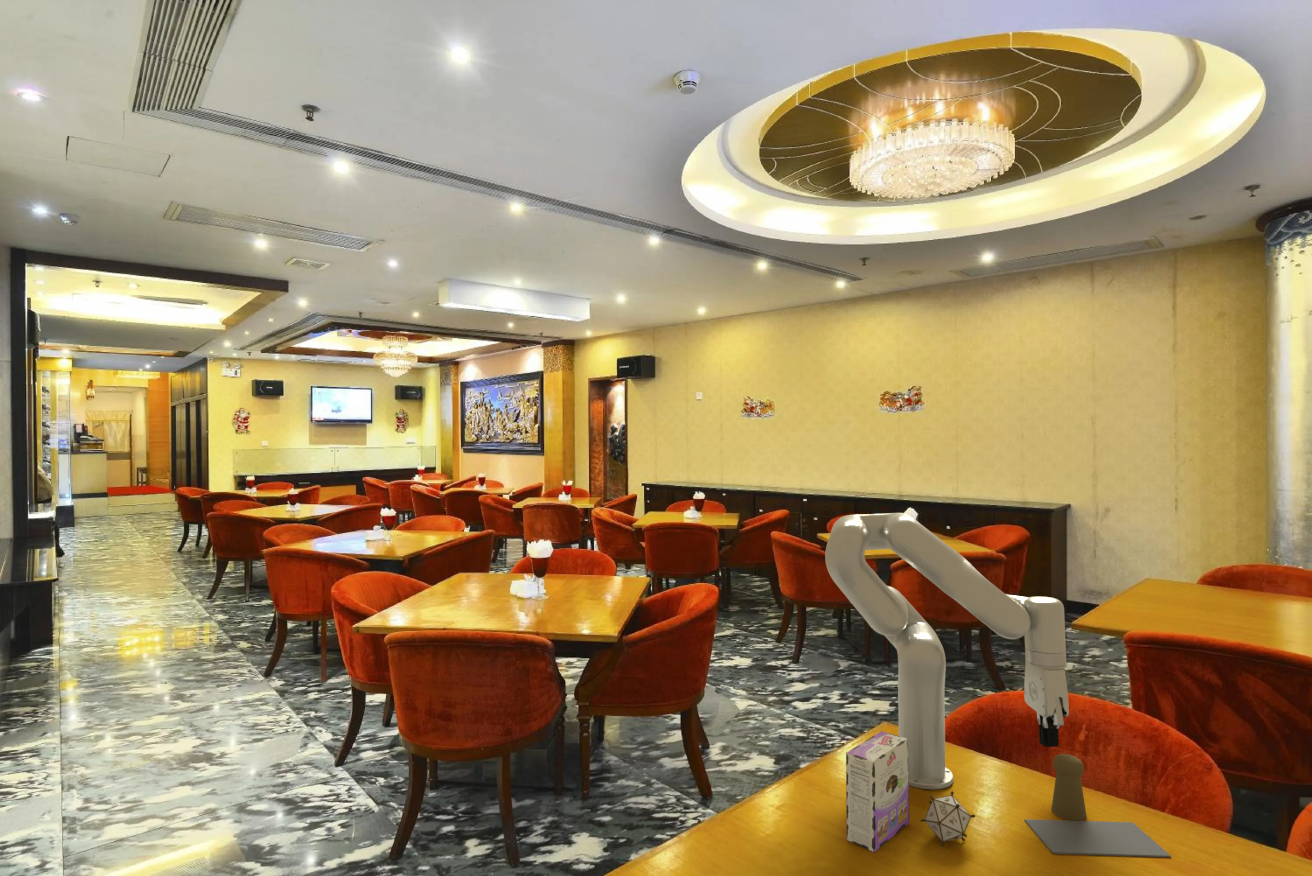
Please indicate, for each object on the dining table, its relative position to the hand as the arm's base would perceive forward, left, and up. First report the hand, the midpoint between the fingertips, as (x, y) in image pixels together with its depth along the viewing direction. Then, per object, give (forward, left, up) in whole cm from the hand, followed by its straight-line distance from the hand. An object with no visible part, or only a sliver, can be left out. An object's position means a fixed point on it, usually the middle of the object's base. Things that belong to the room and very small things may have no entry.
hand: (1049, 745), depth 148 cm
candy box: (-40, -18, -10) cm, 45 cm away
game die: (-28, -20, -10) cm, 35 cm away
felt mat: (-1, -18, -10) cm, 20 cm away
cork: (-1, -9, -10) cm, 13 cm away
